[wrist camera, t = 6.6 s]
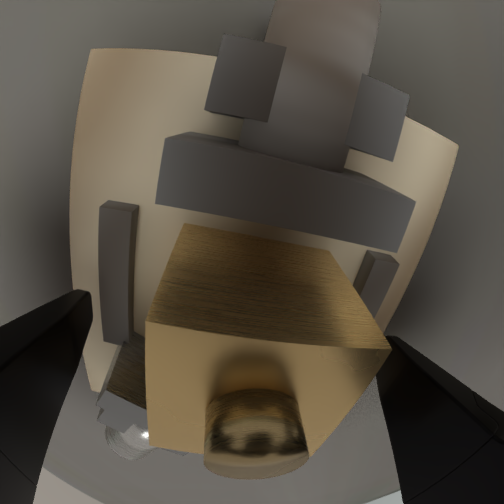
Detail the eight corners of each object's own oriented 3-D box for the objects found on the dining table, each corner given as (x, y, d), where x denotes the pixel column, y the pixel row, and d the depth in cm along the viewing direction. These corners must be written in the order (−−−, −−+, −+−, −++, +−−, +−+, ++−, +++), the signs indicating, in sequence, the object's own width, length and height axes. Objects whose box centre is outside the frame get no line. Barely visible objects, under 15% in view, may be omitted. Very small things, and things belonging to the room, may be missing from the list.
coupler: (329, 251, 9) (417, 394, 4) (288, 354, 11) (318, 490, 6) (184, 222, 8) (126, 377, 3) (170, 338, 10) (143, 483, 5)
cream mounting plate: (452, 95, 8) (532, 101, 4) (322, 405, 14) (339, 465, 11) (120, 1, 6) (65, -47, 2) (96, 375, 12) (74, 438, 9)
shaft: (128, 328, 10) (105, 390, 7) (238, 383, 11) (241, 444, 9) (89, 392, 12) (72, 440, 9) (176, 432, 13) (171, 479, 10)
